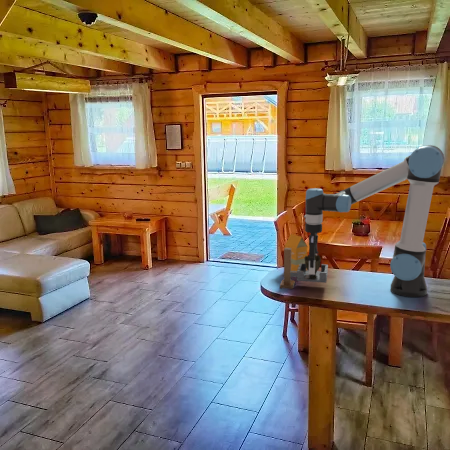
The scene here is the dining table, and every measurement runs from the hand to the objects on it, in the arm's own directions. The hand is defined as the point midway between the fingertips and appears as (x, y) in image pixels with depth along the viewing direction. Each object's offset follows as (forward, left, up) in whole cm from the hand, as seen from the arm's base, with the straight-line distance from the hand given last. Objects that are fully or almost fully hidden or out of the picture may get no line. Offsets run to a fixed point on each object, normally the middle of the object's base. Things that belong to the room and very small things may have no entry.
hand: (312, 270), depth 204 cm
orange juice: (+10, -20, -8) cm, 24 cm away
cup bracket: (+4, 0, -8) cm, 9 cm away
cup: (0, -2, -2) cm, 3 cm away
